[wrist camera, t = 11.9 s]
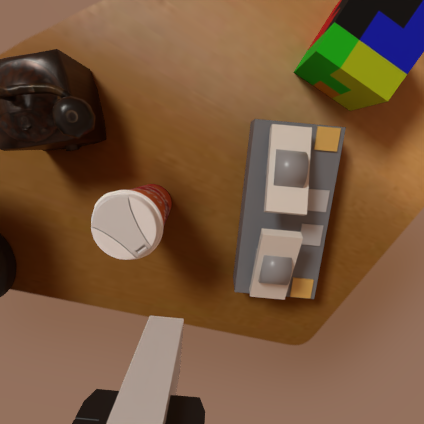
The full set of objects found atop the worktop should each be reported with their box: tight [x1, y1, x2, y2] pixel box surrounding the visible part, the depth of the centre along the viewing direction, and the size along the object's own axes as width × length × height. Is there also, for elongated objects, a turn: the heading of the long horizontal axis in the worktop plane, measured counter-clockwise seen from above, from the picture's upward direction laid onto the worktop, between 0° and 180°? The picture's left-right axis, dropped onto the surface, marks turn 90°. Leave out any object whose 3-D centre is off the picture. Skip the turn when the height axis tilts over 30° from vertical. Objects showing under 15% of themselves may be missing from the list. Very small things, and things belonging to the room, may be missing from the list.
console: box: [233, 119, 346, 299], centre depth 44 cm, size 12×25×6 cm, turn 175°
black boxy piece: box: [0, 49, 106, 151], centre depth 35 cm, size 16×11×18 cm
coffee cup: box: [91, 184, 172, 260], centre depth 40 cm, size 8×8×15 cm
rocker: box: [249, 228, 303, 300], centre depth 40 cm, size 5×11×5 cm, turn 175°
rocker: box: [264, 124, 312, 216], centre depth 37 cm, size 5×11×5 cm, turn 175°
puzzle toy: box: [294, 0, 424, 111], centre depth 37 cm, size 10×10×10 cm
